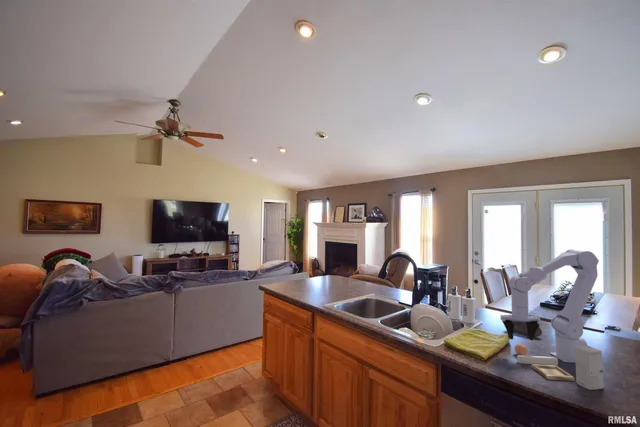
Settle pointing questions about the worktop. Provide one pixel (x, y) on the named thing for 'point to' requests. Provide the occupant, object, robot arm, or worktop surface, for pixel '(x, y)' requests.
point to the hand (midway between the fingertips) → (520, 339)
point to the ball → (521, 349)
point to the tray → (553, 372)
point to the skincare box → (589, 367)
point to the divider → (537, 360)
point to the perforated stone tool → (524, 328)
